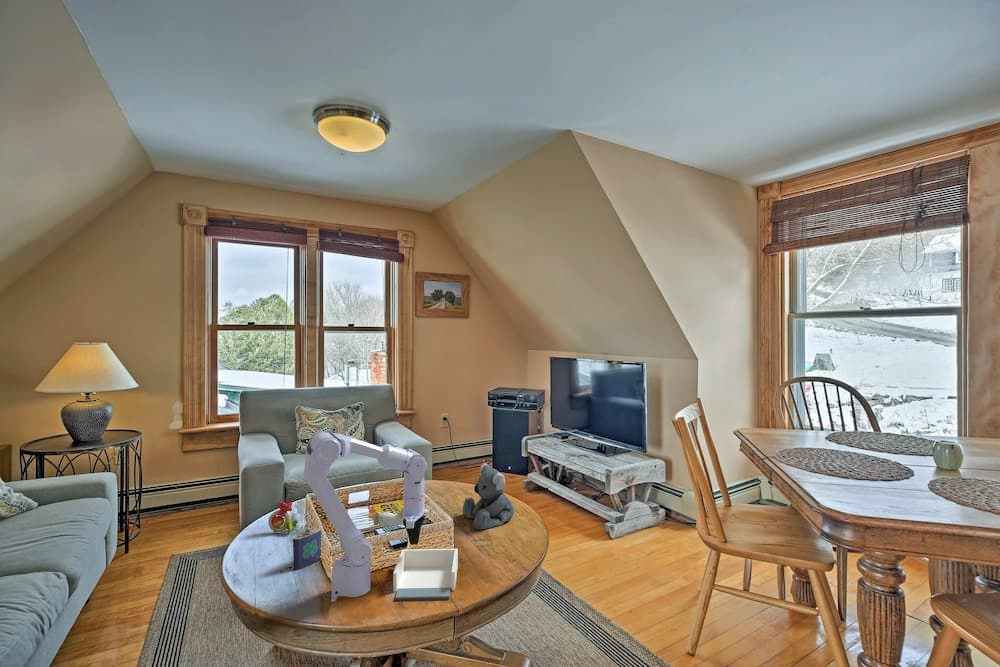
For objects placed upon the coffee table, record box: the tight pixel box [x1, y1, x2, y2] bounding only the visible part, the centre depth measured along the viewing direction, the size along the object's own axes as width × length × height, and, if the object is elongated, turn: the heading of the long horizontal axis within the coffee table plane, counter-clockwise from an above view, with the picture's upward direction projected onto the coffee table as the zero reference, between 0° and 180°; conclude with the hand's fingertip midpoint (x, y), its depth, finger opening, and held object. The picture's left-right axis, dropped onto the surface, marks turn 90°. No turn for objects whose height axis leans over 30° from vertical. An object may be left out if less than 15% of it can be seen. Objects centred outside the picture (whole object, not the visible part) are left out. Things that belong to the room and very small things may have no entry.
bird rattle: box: [268, 501, 299, 535], centre depth 161 cm, size 6×11×9 cm
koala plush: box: [462, 462, 515, 530], centre depth 172 cm, size 17×18×20 cm
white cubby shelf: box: [392, 548, 459, 593], centre depth 129 cm, size 16×13×6 cm
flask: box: [292, 526, 322, 571], centre depth 140 cm, size 9×3×11 cm, turn 148°
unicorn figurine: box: [372, 498, 431, 526], centre depth 153 cm, size 7×20×13 cm, turn 86°
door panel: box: [394, 587, 451, 602], centre depth 120 cm, size 14×1×5 cm
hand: (414, 543), depth 132 cm, fingers closed
